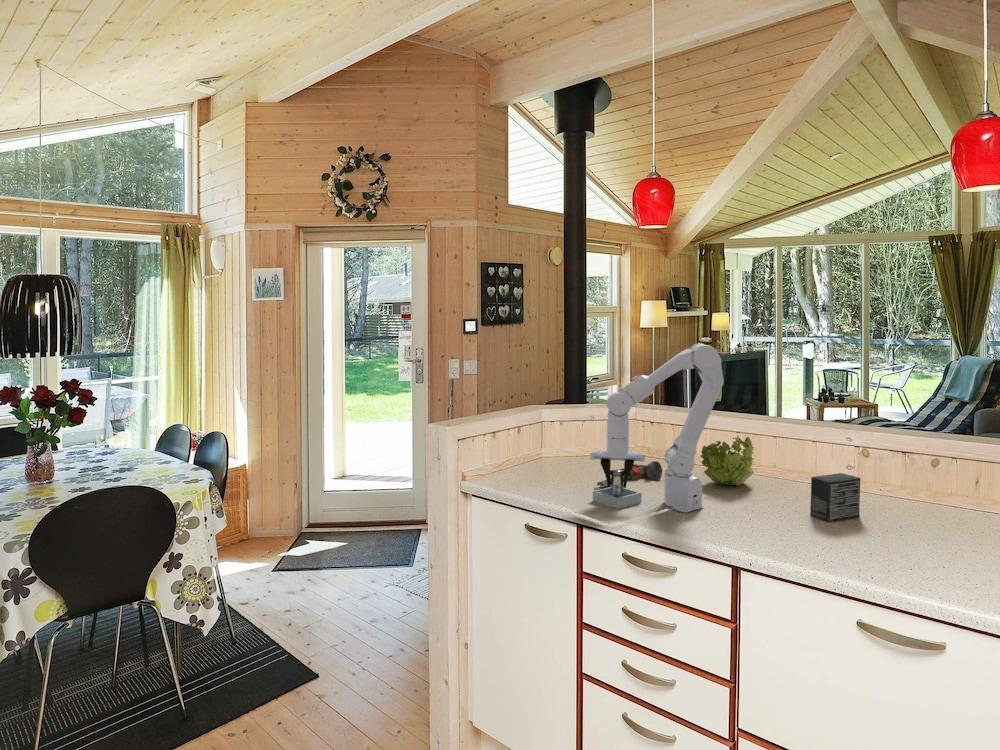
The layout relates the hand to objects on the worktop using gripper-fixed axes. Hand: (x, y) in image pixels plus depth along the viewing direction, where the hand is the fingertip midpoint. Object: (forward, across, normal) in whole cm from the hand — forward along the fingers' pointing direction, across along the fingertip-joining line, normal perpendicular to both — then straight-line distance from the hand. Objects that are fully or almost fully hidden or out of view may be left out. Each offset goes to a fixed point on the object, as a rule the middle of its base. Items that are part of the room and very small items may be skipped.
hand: (617, 486), depth 184 cm
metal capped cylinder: (+2, 0, 0) cm, 2 cm away
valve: (+6, -1, -28) cm, 28 cm away
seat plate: (+5, +3, -9) cm, 11 cm away
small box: (+5, -55, -1) cm, 55 cm away
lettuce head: (+5, -31, -30) cm, 44 cm away
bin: (+5, 0, 0) cm, 5 cm away
